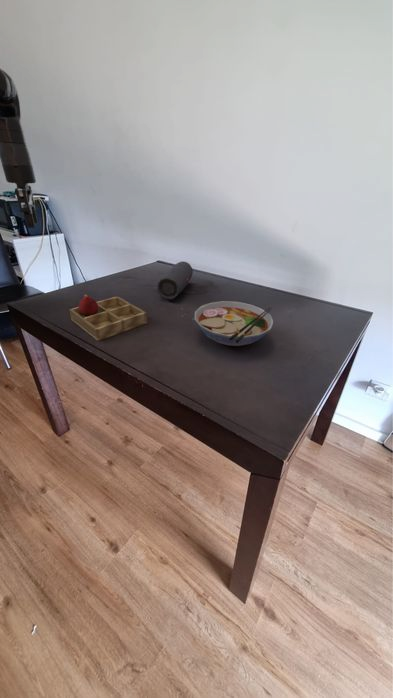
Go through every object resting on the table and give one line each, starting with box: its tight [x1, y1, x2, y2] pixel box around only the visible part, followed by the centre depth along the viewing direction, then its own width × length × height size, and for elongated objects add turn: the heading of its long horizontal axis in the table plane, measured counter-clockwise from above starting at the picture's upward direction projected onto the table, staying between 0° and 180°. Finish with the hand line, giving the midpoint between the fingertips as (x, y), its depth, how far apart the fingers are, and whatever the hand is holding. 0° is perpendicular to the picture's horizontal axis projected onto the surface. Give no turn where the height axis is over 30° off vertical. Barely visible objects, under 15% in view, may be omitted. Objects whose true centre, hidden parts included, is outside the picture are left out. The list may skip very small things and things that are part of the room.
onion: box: [78, 294, 99, 317], centre depth 89 cm, size 6×6×8 cm
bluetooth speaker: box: [156, 261, 194, 300], centre depth 113 cm, size 23×9×10 cm, turn 167°
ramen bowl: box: [194, 300, 274, 347], centre depth 84 cm, size 25×23×8 cm
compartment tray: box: [68, 296, 148, 342], centre depth 91 cm, size 17×17×4 cm
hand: (32, 225), depth 88 cm, fingers open, 8 cm apart
